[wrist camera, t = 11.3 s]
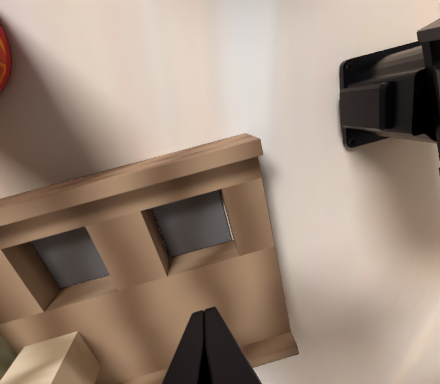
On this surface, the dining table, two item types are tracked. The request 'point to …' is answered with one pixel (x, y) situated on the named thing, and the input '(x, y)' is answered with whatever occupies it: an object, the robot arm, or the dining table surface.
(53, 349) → the maple block
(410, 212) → the dining table surface
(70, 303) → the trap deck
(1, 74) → the canned food
